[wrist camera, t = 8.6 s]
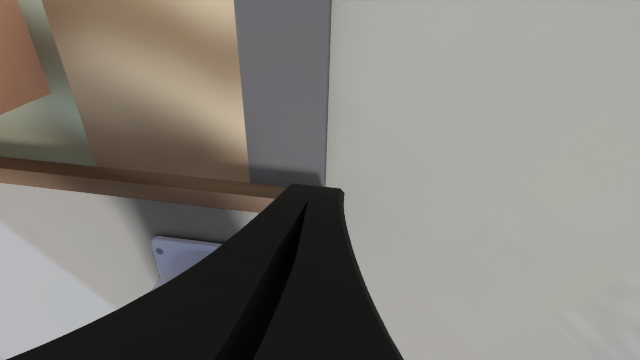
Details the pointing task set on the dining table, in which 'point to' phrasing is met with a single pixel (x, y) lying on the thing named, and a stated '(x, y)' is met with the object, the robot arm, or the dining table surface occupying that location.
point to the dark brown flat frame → (135, 104)
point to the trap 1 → (285, 88)
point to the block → (18, 61)
